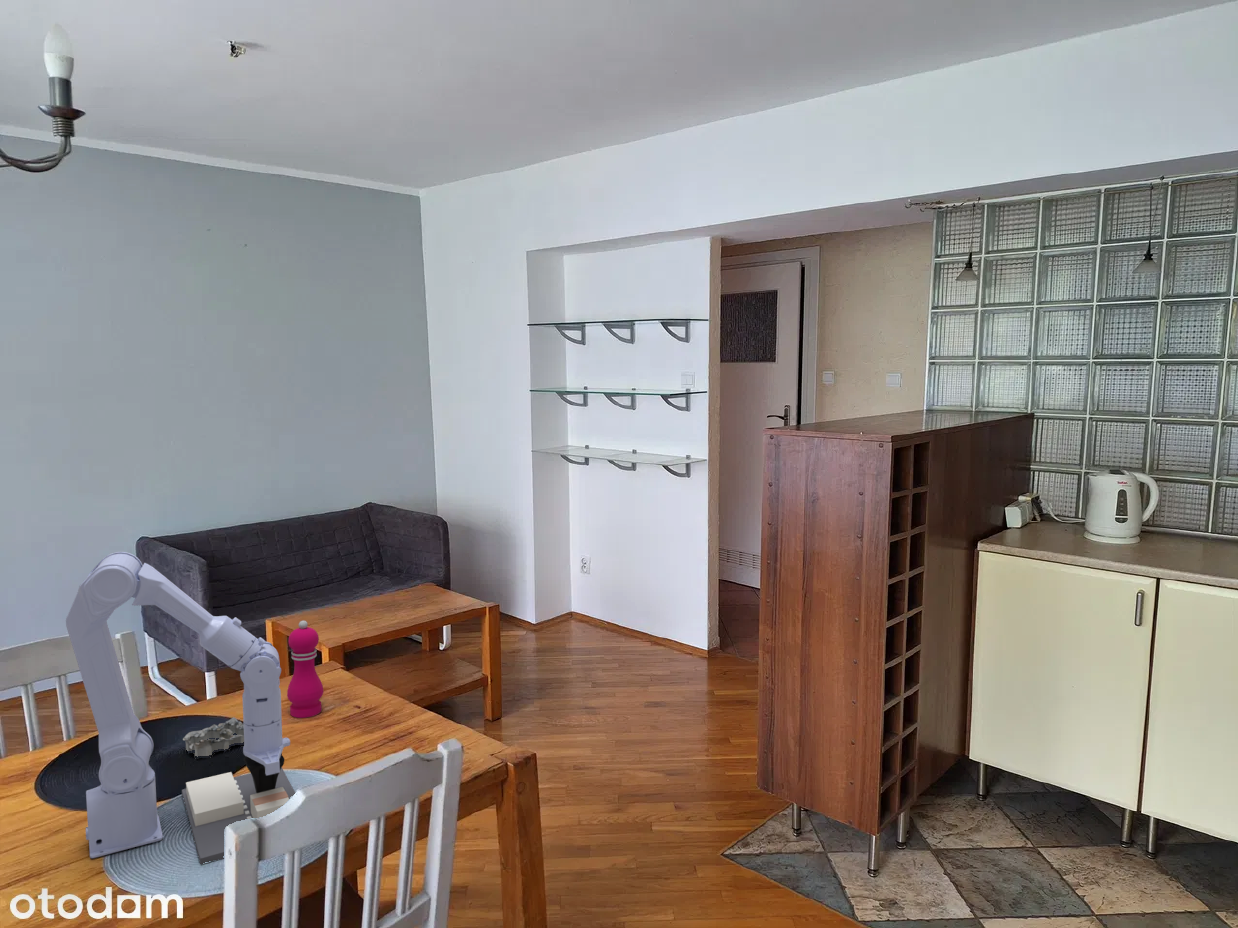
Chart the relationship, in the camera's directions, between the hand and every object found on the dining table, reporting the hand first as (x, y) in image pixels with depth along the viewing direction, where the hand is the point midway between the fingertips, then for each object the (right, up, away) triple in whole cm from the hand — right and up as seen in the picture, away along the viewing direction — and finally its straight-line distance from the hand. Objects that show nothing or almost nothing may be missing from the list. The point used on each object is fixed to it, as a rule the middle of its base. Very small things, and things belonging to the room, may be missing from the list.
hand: (265, 798), depth 136 cm
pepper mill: (-9, +2, +40) cm, 41 cm away
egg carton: (-19, 0, +24) cm, 31 cm away
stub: (+2, -2, -3) cm, 4 cm away
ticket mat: (-3, -2, 0) cm, 4 cm away
